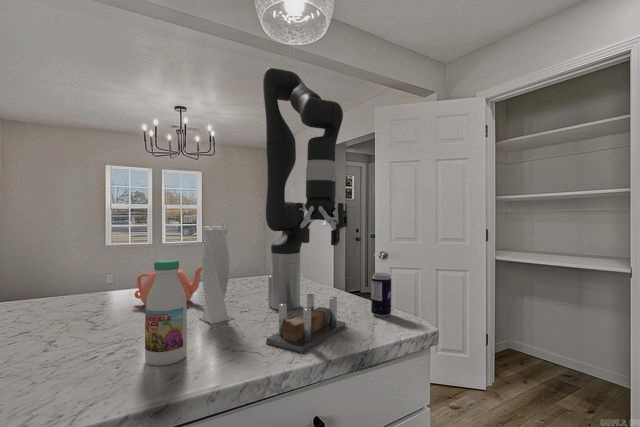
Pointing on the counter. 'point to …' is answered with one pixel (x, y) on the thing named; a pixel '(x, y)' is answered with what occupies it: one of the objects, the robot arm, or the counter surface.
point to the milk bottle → (166, 316)
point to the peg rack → (307, 328)
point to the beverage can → (381, 294)
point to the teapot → (184, 281)
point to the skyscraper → (215, 274)
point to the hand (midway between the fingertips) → (319, 244)
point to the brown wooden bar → (295, 325)
